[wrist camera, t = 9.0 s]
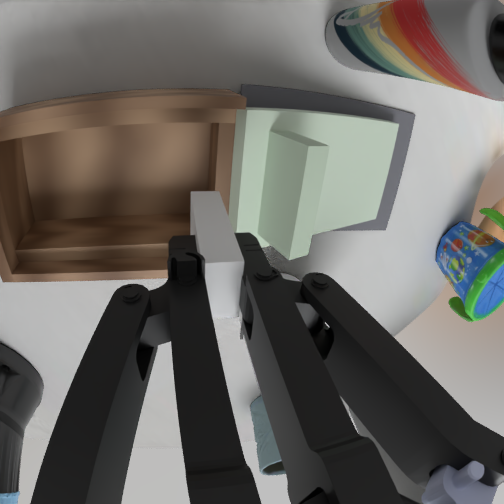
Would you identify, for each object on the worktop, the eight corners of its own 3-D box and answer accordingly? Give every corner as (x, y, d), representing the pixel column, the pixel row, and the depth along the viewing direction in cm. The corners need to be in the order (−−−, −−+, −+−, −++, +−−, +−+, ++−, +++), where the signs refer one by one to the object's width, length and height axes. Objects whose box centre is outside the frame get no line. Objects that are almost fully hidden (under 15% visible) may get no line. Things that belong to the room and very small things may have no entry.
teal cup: (314, 391, 49) (339, 451, 39) (275, 419, 52) (293, 475, 42) (272, 381, 44) (295, 452, 34) (231, 412, 47) (246, 476, 37)
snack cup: (456, 282, 42) (494, 324, 34) (410, 293, 40) (450, 344, 32) (490, 193, 34) (541, 230, 25) (444, 191, 32) (504, 235, 23)
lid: (226, 246, 23) (263, 284, 19) (236, 107, 17) (286, 121, 14) (367, 213, 30) (403, 236, 27) (388, 120, 25) (432, 136, 22)
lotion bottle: (335, -2, 18) (565, -23, 2) (388, 28, 20) (602, 63, 4) (314, 53, 21) (555, 90, 5) (369, 80, 23) (584, 158, 7)
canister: (383, 385, 55) (454, 526, 27) (327, 401, 52) (393, 562, 24) (407, 344, 48) (501, 506, 20) (346, 361, 46) (437, 555, 17)
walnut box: (31, 235, 24) (3, 282, 18) (12, 107, 17) (-35, 126, 12) (218, 226, 28) (231, 275, 22) (228, 89, 22) (246, 97, 16)
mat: (229, 231, 29) (230, 232, 28) (241, 84, 22) (242, 84, 21) (384, 229, 32) (385, 230, 32) (413, 114, 25) (415, 114, 25)
